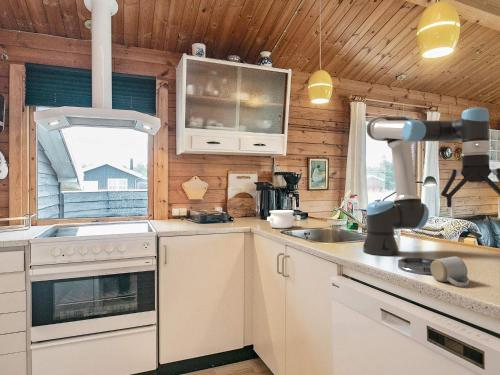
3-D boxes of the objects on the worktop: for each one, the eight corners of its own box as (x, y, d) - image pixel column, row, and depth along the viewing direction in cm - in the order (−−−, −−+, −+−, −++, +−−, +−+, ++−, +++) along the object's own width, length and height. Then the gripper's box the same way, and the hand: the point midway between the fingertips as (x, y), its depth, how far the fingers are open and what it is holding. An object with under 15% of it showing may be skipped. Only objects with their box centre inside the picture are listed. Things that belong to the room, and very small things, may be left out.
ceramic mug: (428, 278, 108) (428, 255, 108) (448, 276, 110) (449, 254, 110) (454, 289, 98) (454, 263, 98) (476, 286, 100) (477, 262, 99)
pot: (273, 230, 223) (272, 212, 223) (262, 227, 239) (262, 210, 239) (301, 228, 231) (300, 211, 231) (289, 225, 247) (289, 209, 247)
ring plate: (390, 268, 121) (390, 262, 121) (408, 261, 132) (408, 255, 132) (439, 278, 108) (439, 270, 108) (454, 268, 120) (454, 261, 120)
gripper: (434, 155, 111) (434, 217, 111) (526, 151, 101) (526, 219, 101) (432, 157, 118) (432, 215, 118) (518, 153, 108) (518, 217, 108)
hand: (476, 217), depth 110 cm, fingers open, 13 cm apart
